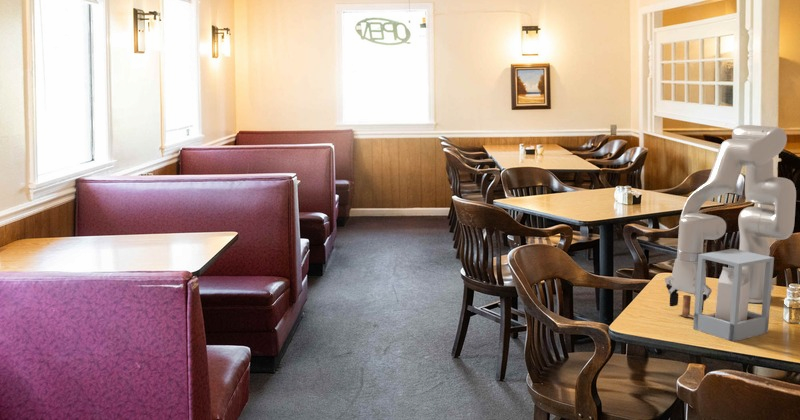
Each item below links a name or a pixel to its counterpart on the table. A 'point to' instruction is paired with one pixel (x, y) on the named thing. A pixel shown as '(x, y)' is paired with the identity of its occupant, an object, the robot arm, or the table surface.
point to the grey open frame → (734, 297)
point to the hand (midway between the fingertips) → (685, 309)
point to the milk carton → (726, 295)
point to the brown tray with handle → (687, 308)
